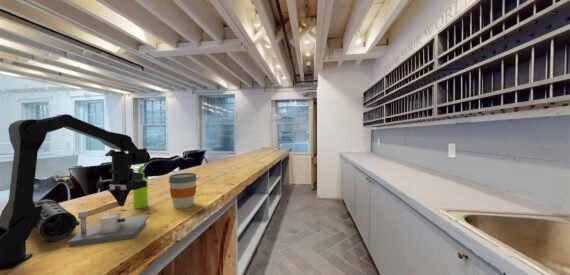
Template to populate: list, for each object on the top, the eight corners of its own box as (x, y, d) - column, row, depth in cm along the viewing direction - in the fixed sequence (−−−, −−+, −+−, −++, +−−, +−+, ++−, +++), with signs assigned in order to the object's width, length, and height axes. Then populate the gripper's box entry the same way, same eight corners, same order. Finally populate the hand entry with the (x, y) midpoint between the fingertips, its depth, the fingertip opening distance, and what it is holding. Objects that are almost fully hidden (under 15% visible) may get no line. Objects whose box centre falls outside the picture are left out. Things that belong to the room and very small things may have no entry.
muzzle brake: (78, 237, 77) (34, 244, 69) (58, 220, 93) (20, 224, 85) (84, 209, 79) (41, 213, 70) (63, 197, 94) (27, 199, 86)
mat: (142, 223, 86) (142, 222, 86) (118, 226, 84) (118, 225, 84) (148, 216, 94) (148, 215, 94) (127, 218, 92) (127, 217, 92)
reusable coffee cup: (197, 207, 105) (196, 176, 105) (167, 210, 101) (167, 178, 101) (197, 200, 117) (196, 172, 117) (170, 203, 112) (170, 174, 112)
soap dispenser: (130, 209, 103) (129, 167, 103) (136, 205, 110) (135, 165, 109) (144, 208, 105) (144, 166, 104) (149, 204, 111) (148, 164, 111)
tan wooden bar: (123, 205, 88) (123, 200, 88) (81, 219, 74) (81, 213, 74) (119, 204, 89) (119, 200, 89) (76, 218, 74) (76, 212, 74)
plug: (121, 235, 76) (121, 216, 76) (100, 237, 75) (99, 218, 75) (127, 229, 81) (127, 212, 81) (106, 232, 79) (106, 214, 79)
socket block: (134, 237, 74) (133, 218, 74) (68, 246, 69) (68, 225, 69) (145, 224, 86) (145, 207, 86) (90, 230, 81) (89, 212, 81)
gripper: (157, 164, 92) (158, 201, 92) (121, 164, 96) (122, 199, 96) (133, 168, 82) (134, 209, 82) (94, 167, 85) (95, 207, 86)
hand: (122, 206), depth 87 cm, fingers closed
